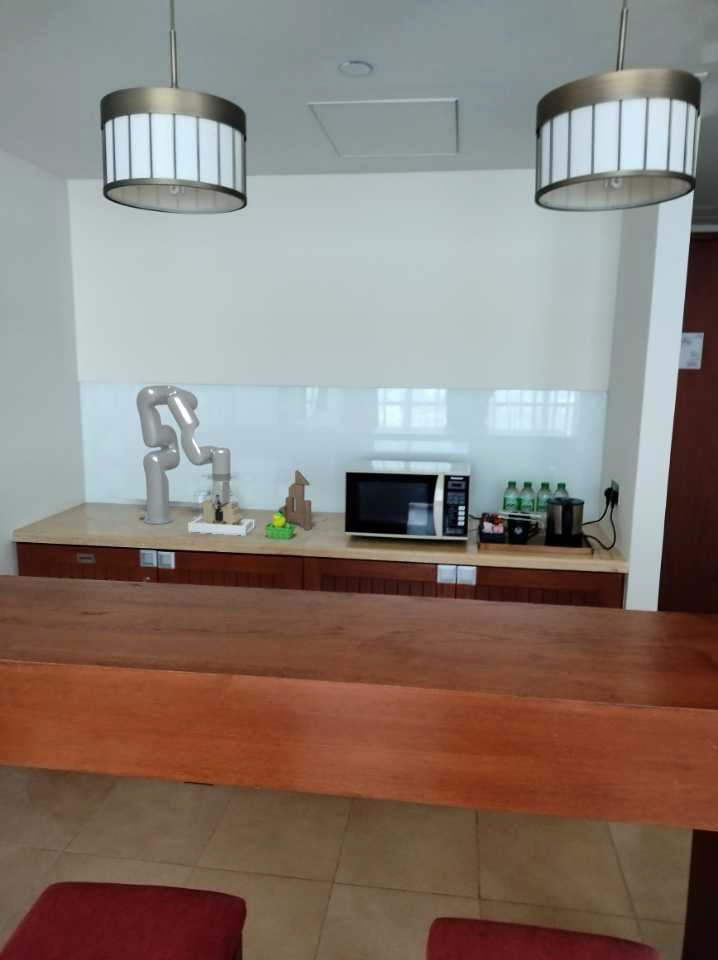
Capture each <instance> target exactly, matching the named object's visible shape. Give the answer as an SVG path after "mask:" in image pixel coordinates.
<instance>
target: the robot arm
mask: <svg viewBox="0 0 718 960" xmlns="http://www.w3.org/2000/svg"><path fill="white" fill-rule="evenodd" d="M135 402H136V407H137V412H138V415H139V419H140V427H141V434H142V441H143V444H144V445H145V446H146V447H147V448H149V449H150V448H151V449H154V448H159V450H158V449H157V450H153V451H149V452H148V453H146V454H145V456H144V457H143V460H142V464H143V470H144V474H145V483H146V485H145V487H146V488H145V489H146V511H145V510H140V511H139V516H140V517H144V518H143V522H144V523H145V524H148V525H161V524H163V525H165V524H169V523H172V522H174V517H173V516H171V515H170V486H169V478H168V476H167V474H166V472H167V471H171V470H175V469H176V468H178V466H180V461H181V455H180V450H179V449H180V448H179V442H178V436H177V435H178V434H177V432H176V430H175V428H173V426H171V425H169V424H162V419H161V415H160V413H159V411H158V409H157V408H156V407H157V406H167V407H168V409H169V411H170V413H171V415H172V417H173V418H174V420H175V421H176V424H177V425H178V427H179V429H180V431H181V433H180V444H181V449H182V451H183V453H184V454H185V456H186V458H187V460H189V462H190V463H191V464H192V465H194V466H197V467H200V466H204V465H209V464H211V465H212V466H211V467H212V471H211V472H212V474H211V475H212V479H211V480H212V489H211V500H212V504H213V505H214V507H215V520H216V521H223V512H222V506H223V505H224V504H226V503H228V504H229V503H230V500H231V487H230V482H231V480H232V479H231V477H232V476H231V474H232V473H231V450H230V449H229V448H228V447H217V446H214V445H205V446H199V445H198V443H197V441H196V439H195V434H194V433H195V430H196V429H197V428H198V427H199V425H200V420H199V419H198V417H197V415H196V413H195V410H196V409H197V408H198V404H199V402H198V399H197V396H196V395H195V394H194V393H192V392H190V391H188V390H185V389H183V388H180V387H177V386H174V385H169V384H168V385H167V384H165V385H163V384H162V385H150V386H146V387H144V388H142V389H141V390H140V391H139V392H138V393H137V396H136V401H135ZM218 503H221V504H218ZM219 506H220V507H219Z"/></svg>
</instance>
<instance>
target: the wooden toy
mask: <svg viewBox="0 0 718 960" xmlns="http://www.w3.org/2000/svg"><path fill="white" fill-rule="evenodd" d="M294 473H295V475H294V483H291V485H290V486H289V487H288V496H287V497H285V505H283V506H281V507H280V508H279V509H278V511H277V513H281V514H282V516H283V517H284V518H285V519H286V521H285V524H286V523H288V524H292V521H297V522H298V523H299V525H300V528H302V529H303V530H304V531H311V530H312V500H310V499H305V489H306V488H305V486H310V485H311V484H310V482H309V481H308V480H307V479H306V477H304V475H303V474H302V473H301V471H299V470H298V469H297V470H295V471H294Z"/></svg>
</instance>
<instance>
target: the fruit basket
mask: <svg viewBox="0 0 718 960" xmlns="http://www.w3.org/2000/svg"><path fill="white" fill-rule="evenodd" d="M272 517H273V518H272V522H269V523H268V524H267V525H265V526H264V529H265V531H266V535H267V538H268V539H274V540H286V541H289V540H290V539H292V538H293V535H294V533H295V528H296V524H292V523H291V524H288V523H286V524H285V521H286V519H285V518H284V517H283V516H282V514H281V513H278V512H277V513H275V514H274V515H273V516H272Z"/></svg>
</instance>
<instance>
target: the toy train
mask: <svg viewBox="0 0 718 960" xmlns="http://www.w3.org/2000/svg"><path fill="white" fill-rule="evenodd" d="M218 504H221V503H218ZM200 505H201V506H202V507H203V518H204V519H205V522H206V523H209V524H214V523H216V524H225V523H226V525H236V524H238V523H239V521H241V520H243V519H244V516H243V515H242V513H241V509H240V508H241V507H239V502H238V501H232V502H229V503H226V504H224V505H223V506H222V512H223V521H216V520H215V507H214V505H213V504H212V498H211V499H205V500H203V501H201V503H200ZM219 507H220V506H219Z"/></svg>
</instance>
